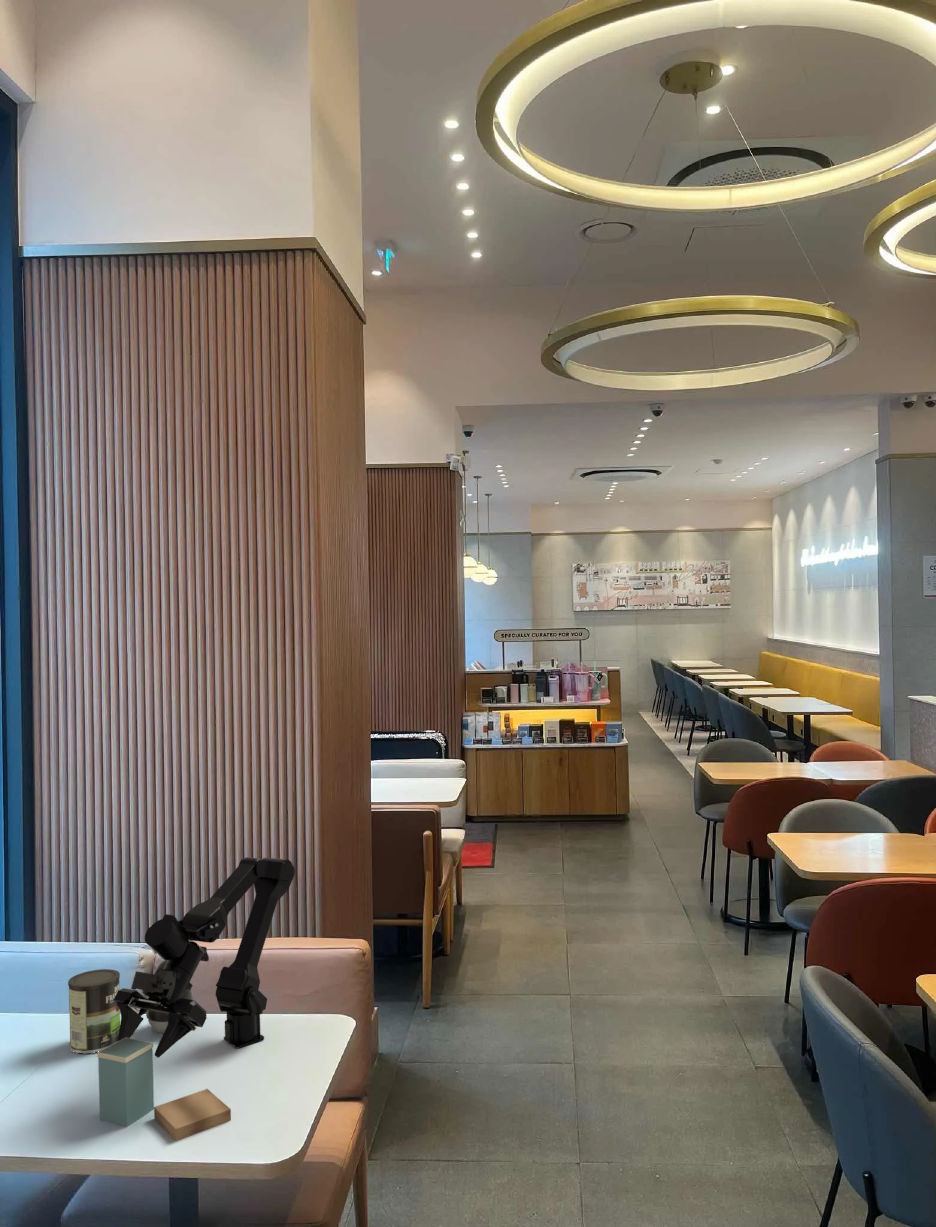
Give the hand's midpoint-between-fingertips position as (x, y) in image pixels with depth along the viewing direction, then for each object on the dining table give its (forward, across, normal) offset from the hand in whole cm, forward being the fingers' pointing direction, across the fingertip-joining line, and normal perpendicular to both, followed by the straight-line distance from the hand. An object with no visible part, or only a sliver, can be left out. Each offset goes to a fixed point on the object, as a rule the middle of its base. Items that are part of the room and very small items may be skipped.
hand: (137, 1052), depth 171 cm
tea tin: (+9, 0, +5) cm, 10 cm away
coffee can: (-5, -29, +20) cm, 36 cm away
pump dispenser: (-14, -19, +28) cm, 36 cm away
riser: (+7, +12, +8) cm, 16 cm away
